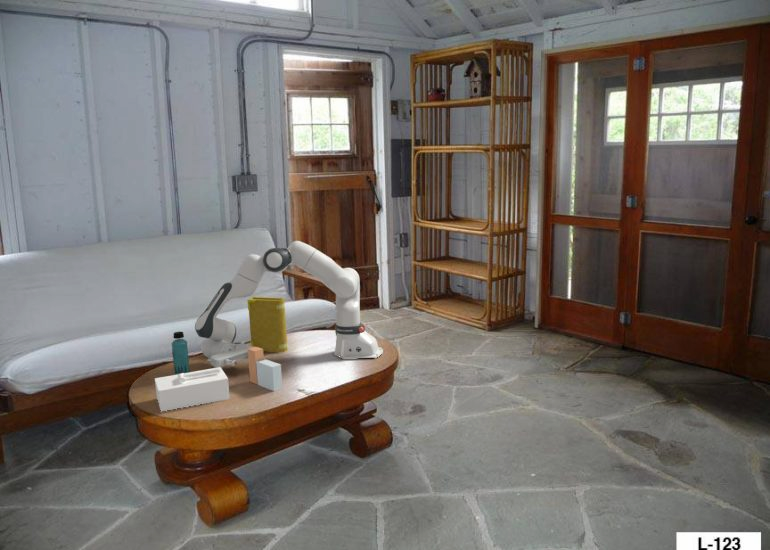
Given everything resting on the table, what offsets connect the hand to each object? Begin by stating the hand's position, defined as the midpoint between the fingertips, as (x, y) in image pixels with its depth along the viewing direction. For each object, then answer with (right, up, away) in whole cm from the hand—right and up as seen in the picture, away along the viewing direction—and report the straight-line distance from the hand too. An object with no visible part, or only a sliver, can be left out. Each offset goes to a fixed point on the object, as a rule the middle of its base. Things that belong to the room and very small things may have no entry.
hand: (244, 360), depth 257 cm
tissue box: (-15, -13, -20) cm, 28 cm away
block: (+7, -8, -5) cm, 11 cm away
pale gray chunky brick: (+13, -9, -10) cm, 19 cm away
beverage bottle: (-27, -8, +3) cm, 28 cm away
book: (+4, 0, +36) cm, 36 cm away
